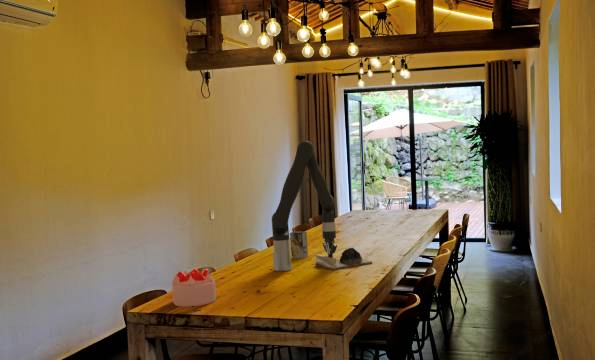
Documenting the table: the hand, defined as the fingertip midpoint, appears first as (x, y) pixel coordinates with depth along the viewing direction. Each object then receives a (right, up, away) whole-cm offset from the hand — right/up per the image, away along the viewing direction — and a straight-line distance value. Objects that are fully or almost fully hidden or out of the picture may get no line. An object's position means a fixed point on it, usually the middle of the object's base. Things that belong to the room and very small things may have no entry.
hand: (330, 260), depth 344 cm
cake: (-66, -11, -62) cm, 91 cm away
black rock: (+12, -3, +5) cm, 14 cm away
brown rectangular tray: (+8, -3, +4) cm, 9 cm away
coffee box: (-17, -3, +37) cm, 41 cm away
